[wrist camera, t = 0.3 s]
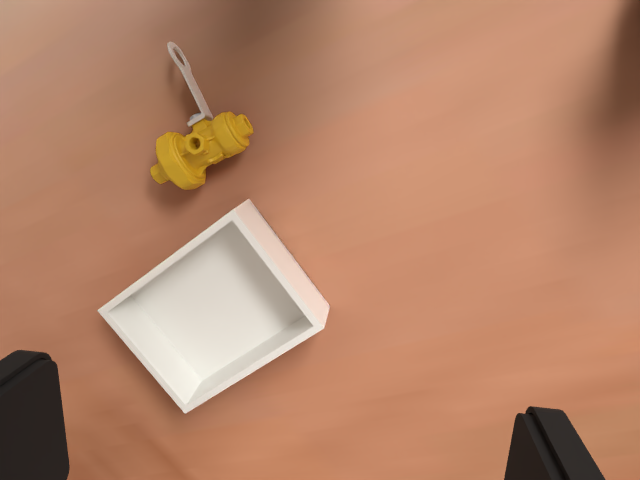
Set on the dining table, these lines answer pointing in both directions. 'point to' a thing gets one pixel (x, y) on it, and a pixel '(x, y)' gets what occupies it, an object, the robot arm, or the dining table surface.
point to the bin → (218, 308)
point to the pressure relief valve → (198, 139)
